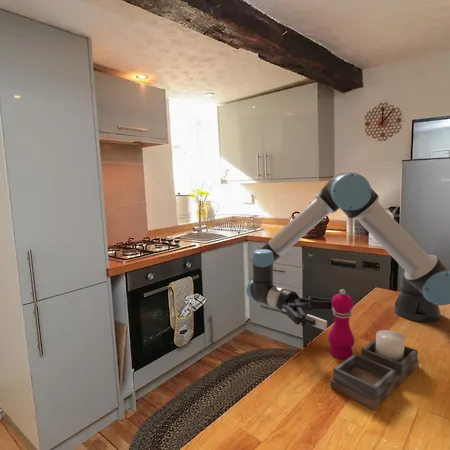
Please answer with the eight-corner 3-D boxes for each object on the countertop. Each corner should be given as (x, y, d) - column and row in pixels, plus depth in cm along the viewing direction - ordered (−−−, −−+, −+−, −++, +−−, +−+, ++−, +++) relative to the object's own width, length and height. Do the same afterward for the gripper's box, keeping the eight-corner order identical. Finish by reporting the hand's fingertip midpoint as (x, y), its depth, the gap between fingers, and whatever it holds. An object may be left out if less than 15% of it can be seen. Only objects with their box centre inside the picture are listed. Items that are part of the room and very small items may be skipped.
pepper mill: (355, 361, 95) (358, 294, 92) (329, 358, 96) (331, 293, 93) (351, 348, 102) (353, 285, 99) (327, 346, 103) (328, 284, 100)
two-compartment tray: (378, 351, 100) (379, 335, 99) (418, 366, 91) (419, 349, 91) (330, 387, 83) (331, 369, 82) (373, 410, 75) (374, 390, 74)
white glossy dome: (386, 350, 96) (387, 328, 95) (408, 362, 90) (410, 338, 89) (369, 356, 93) (370, 333, 92) (391, 369, 87) (393, 344, 86)
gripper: (305, 300, 122) (360, 318, 106) (258, 320, 106) (314, 345, 90) (305, 281, 121) (361, 296, 105) (258, 298, 105) (314, 319, 89)
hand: (339, 318), depth 98 cm, fingers open, 13 cm apart
